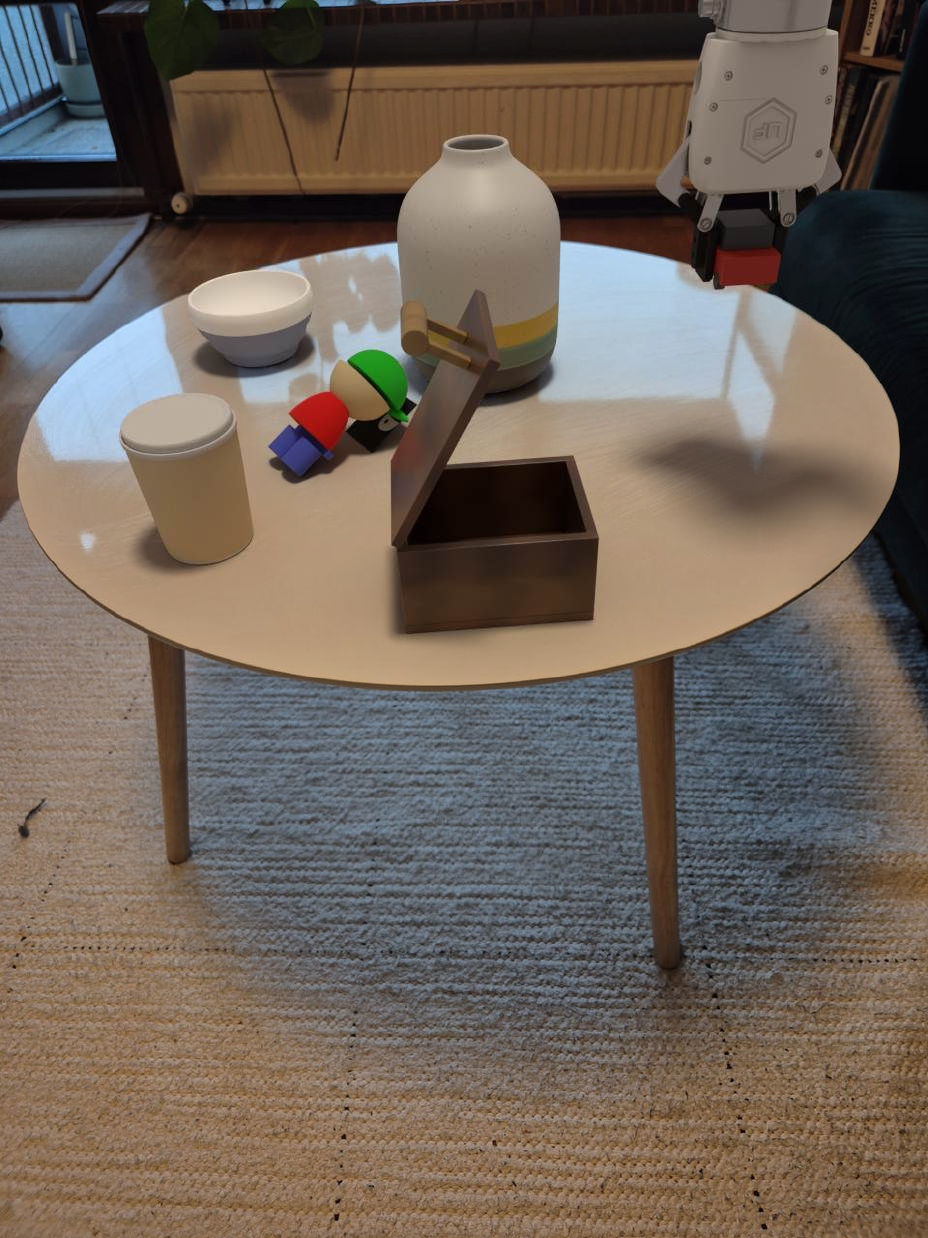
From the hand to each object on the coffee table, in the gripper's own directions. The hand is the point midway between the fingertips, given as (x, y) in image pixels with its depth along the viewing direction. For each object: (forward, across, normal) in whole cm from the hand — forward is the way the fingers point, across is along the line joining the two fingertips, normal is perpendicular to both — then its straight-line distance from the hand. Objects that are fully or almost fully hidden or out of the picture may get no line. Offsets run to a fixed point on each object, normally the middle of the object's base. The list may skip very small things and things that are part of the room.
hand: (733, 271), depth 74 cm
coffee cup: (+18, -46, -7) cm, 50 cm away
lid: (+3, -25, -16) cm, 30 cm away
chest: (+18, -22, -16) cm, 32 cm away
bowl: (+18, -46, +32) cm, 59 cm away
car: (0, 0, 0) cm, 0 cm away
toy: (+18, -35, +7) cm, 40 cm away
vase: (+18, -20, +22) cm, 35 cm away
